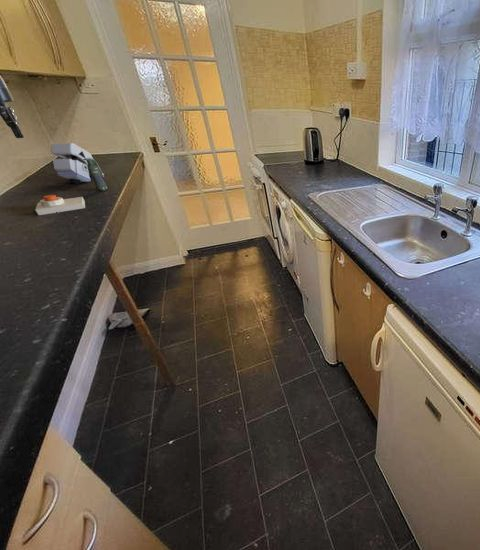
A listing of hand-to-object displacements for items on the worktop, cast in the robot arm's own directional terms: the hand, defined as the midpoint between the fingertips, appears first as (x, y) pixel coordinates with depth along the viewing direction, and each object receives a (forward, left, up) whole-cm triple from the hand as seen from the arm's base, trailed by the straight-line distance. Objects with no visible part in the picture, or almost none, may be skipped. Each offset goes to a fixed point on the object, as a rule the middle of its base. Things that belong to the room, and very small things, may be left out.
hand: (20, 137), depth 118 cm
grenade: (+17, +7, -25) cm, 31 cm away
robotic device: (+6, +33, -25) cm, 42 cm away
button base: (+6, -17, -25) cm, 31 cm away
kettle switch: (+4, -17, -21) cm, 28 cm away
